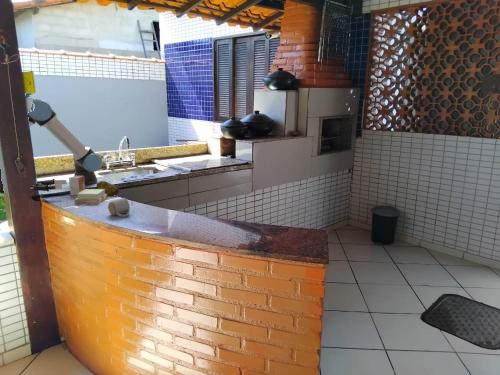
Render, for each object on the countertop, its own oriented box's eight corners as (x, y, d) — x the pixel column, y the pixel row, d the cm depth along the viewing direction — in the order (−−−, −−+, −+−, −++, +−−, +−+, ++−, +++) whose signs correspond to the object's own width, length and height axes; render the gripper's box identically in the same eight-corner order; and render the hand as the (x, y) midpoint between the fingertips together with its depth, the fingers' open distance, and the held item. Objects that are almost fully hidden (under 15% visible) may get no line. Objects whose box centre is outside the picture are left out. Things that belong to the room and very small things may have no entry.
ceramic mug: (107, 214, 182) (106, 199, 180) (122, 210, 188) (121, 196, 186) (118, 219, 175) (117, 203, 173) (133, 215, 181) (133, 200, 179)
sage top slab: (85, 194, 211) (85, 189, 210) (105, 194, 211) (104, 189, 210) (77, 199, 200) (77, 193, 199) (98, 199, 200) (97, 194, 200)
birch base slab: (85, 198, 212) (84, 193, 212) (107, 198, 213) (107, 193, 212) (75, 204, 200) (74, 199, 199) (99, 205, 200) (98, 199, 199)
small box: (79, 195, 216) (78, 178, 214) (70, 195, 216) (68, 178, 214) (85, 192, 224) (84, 175, 222) (76, 192, 224) (75, 175, 222)
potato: (109, 197, 213) (108, 184, 211) (94, 194, 219) (93, 181, 217) (120, 194, 220) (119, 181, 218) (106, 191, 226) (105, 179, 224)
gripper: (30, 187, 222) (68, 186, 228) (17, 197, 199) (60, 195, 205) (29, 175, 220) (67, 174, 226) (15, 184, 197) (59, 182, 203)
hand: (64, 184), depth 215 cm, fingers open, 13 cm apart
